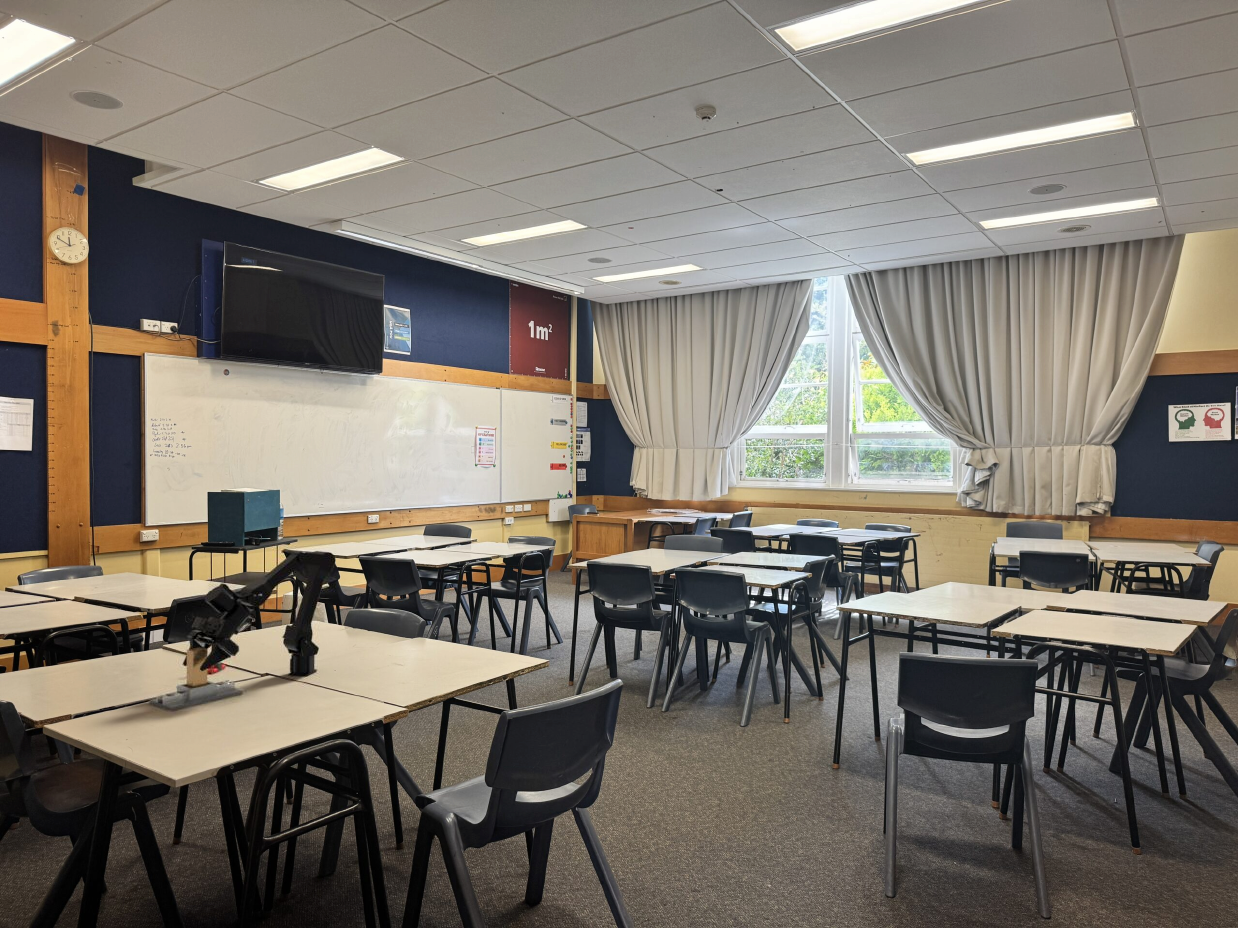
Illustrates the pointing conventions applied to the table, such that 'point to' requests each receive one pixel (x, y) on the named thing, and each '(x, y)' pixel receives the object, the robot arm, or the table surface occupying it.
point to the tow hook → (216, 668)
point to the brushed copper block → (196, 667)
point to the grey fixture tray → (195, 695)
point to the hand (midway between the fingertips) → (192, 667)
